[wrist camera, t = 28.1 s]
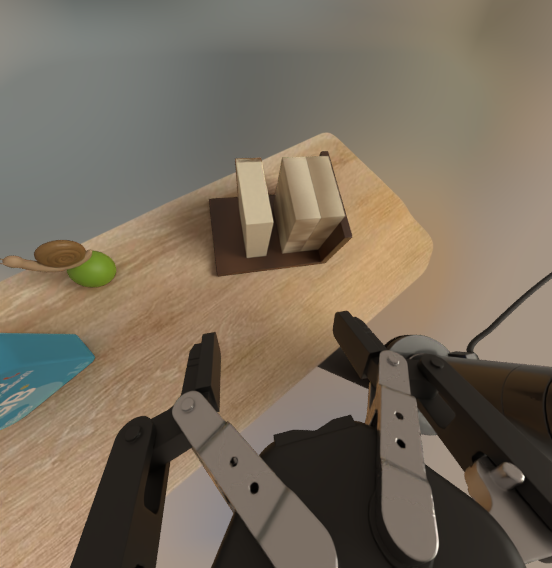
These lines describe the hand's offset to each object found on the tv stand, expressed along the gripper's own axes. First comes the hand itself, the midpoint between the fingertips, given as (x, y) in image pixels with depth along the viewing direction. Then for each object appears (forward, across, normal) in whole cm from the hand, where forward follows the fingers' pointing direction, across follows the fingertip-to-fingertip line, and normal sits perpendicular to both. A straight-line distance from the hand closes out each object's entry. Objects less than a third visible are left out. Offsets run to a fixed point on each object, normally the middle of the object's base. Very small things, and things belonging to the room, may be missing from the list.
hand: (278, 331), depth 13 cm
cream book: (+27, -1, +1) cm, 27 cm away
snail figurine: (+24, +24, +6) cm, 35 cm away
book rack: (+28, -4, +2) cm, 28 cm away
